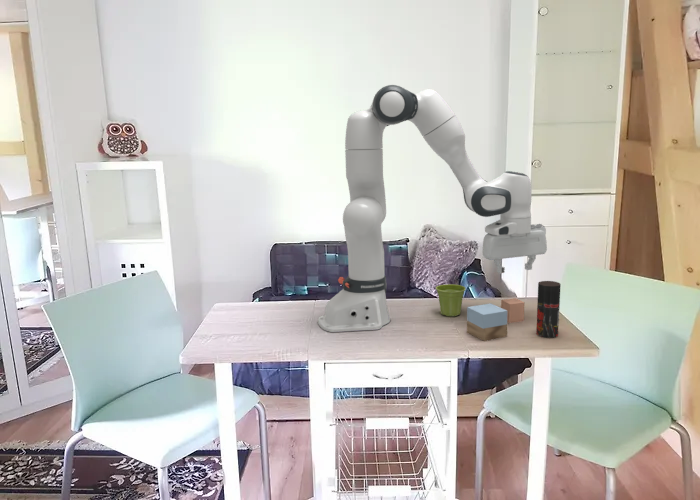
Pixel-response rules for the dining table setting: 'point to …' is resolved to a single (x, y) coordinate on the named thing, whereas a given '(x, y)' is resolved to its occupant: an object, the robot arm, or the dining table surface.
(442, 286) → the plant pot
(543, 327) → the deodorant
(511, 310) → the terracotta block
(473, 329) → the tower base
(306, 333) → the dining table surface
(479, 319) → the tower top
